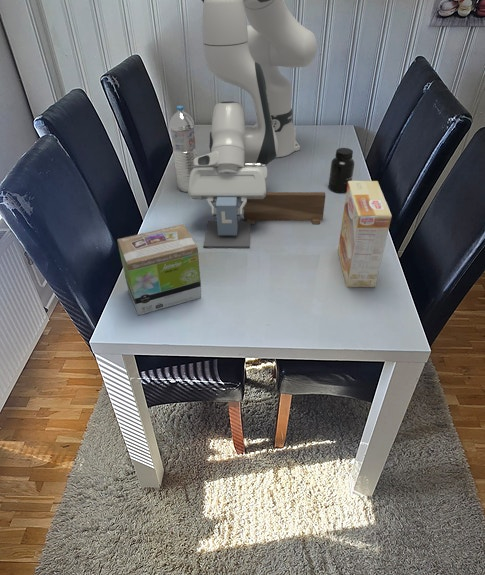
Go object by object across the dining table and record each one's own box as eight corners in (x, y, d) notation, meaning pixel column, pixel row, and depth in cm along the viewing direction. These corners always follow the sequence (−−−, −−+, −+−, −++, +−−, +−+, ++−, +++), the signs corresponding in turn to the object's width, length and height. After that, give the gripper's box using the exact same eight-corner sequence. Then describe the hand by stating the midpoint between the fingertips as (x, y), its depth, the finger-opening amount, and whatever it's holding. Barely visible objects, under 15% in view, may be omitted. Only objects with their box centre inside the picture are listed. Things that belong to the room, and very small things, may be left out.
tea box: (138, 318, 97) (125, 264, 87) (128, 290, 104) (115, 237, 94) (203, 298, 101) (198, 245, 91) (189, 273, 108) (183, 221, 98)
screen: (244, 214, 128) (243, 189, 122) (321, 214, 127) (324, 189, 122) (243, 223, 124) (243, 198, 119) (323, 224, 123) (326, 198, 118)
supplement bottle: (350, 194, 135) (356, 156, 127) (327, 192, 136) (332, 155, 128) (350, 183, 140) (356, 146, 132) (328, 181, 141) (333, 145, 133)
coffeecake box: (336, 249, 114) (347, 180, 101) (364, 249, 114) (378, 179, 101) (345, 287, 103) (357, 215, 90) (376, 288, 103) (393, 215, 90)
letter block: (219, 224, 121) (217, 195, 115) (237, 224, 121) (236, 195, 115) (217, 235, 117) (215, 205, 111) (236, 235, 117) (235, 205, 111)
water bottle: (190, 180, 144) (181, 100, 127) (204, 187, 140) (197, 106, 124) (173, 187, 140) (162, 106, 124) (187, 195, 136) (177, 112, 120)
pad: (208, 222, 125) (207, 220, 124) (250, 222, 124) (250, 220, 124) (203, 247, 116) (203, 246, 115) (249, 248, 115) (249, 246, 115)
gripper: (267, 166, 119) (267, 218, 118) (191, 167, 120) (190, 217, 119) (267, 158, 113) (267, 212, 112) (187, 158, 113) (186, 212, 113)
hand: (227, 215), depth 115 cm, fingers closed on letter block, 5 cm apart
